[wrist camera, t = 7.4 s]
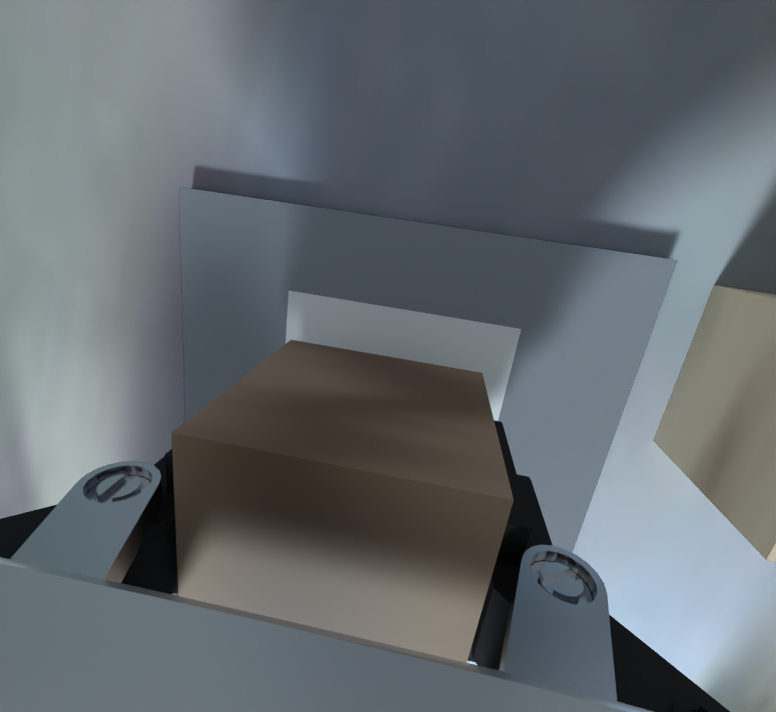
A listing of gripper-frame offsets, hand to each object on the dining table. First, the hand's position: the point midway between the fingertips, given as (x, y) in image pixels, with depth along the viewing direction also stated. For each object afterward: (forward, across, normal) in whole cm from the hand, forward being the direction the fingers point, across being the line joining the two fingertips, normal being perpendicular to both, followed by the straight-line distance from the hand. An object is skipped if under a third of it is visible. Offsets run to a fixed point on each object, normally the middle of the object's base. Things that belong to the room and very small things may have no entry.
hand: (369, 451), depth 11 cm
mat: (+3, 0, 0) cm, 3 cm away
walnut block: (+1, 0, 0) cm, 1 cm away
